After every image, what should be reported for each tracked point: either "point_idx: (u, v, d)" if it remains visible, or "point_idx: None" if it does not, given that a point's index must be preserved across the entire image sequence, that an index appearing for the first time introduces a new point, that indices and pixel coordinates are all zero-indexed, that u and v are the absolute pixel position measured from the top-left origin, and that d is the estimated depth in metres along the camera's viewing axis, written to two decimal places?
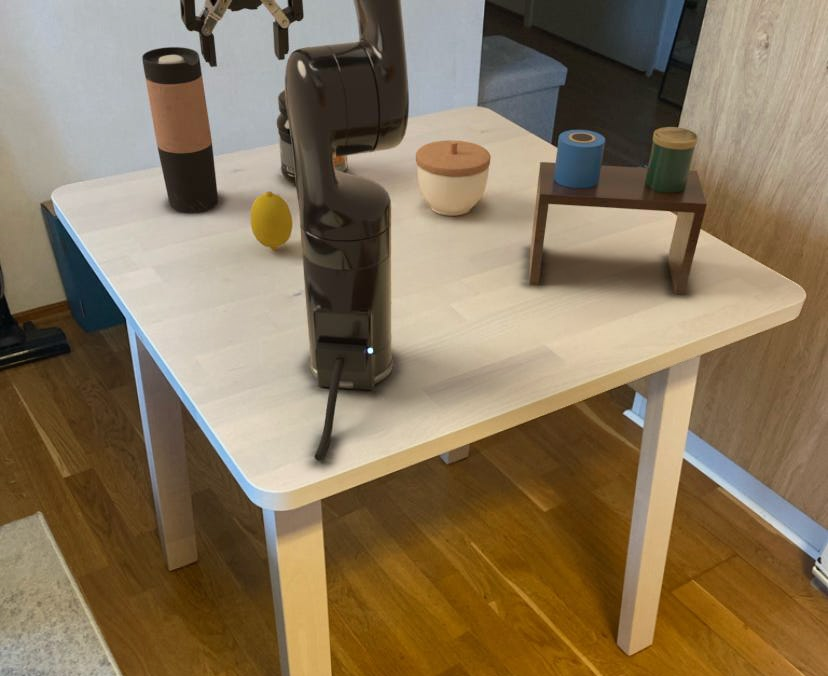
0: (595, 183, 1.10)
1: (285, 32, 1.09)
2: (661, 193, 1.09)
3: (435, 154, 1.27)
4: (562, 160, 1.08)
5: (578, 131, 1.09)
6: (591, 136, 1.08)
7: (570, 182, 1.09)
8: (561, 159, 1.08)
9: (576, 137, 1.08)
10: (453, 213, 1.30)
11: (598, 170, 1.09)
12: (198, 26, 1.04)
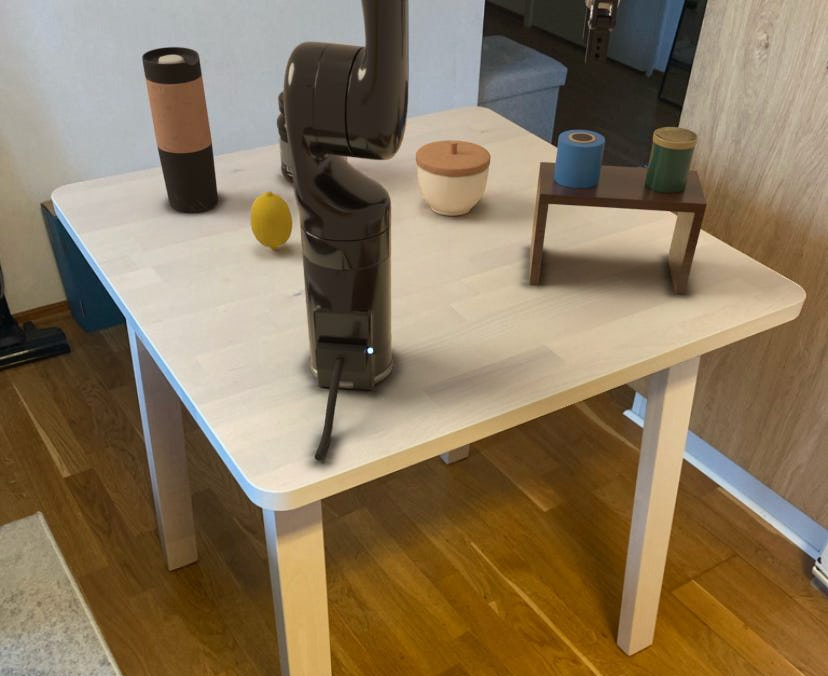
0: (595, 183, 1.10)
1: (592, 37, 0.96)
2: (661, 193, 1.09)
3: (435, 154, 1.27)
4: (562, 160, 1.08)
5: (578, 131, 1.09)
6: (591, 136, 1.08)
7: (570, 182, 1.09)
8: (561, 159, 1.08)
9: (576, 137, 1.08)
10: (453, 213, 1.30)
11: (598, 170, 1.09)
12: None
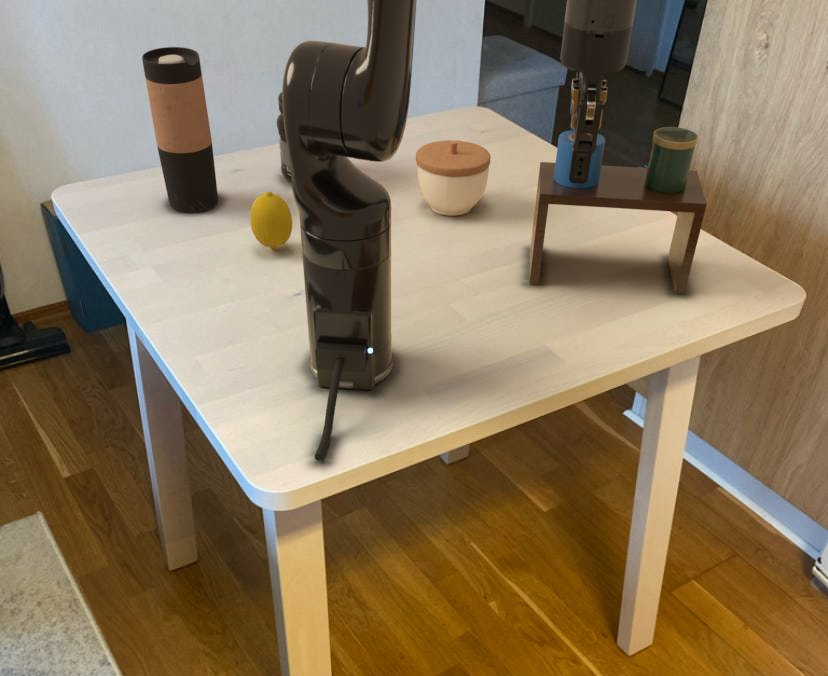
0: (595, 183, 1.10)
1: (575, 157, 1.06)
2: (661, 193, 1.09)
3: (435, 154, 1.27)
4: (562, 160, 1.08)
5: None
6: None
7: (570, 182, 1.09)
8: (561, 159, 1.08)
9: None
10: (453, 213, 1.30)
11: (598, 170, 1.09)
12: None
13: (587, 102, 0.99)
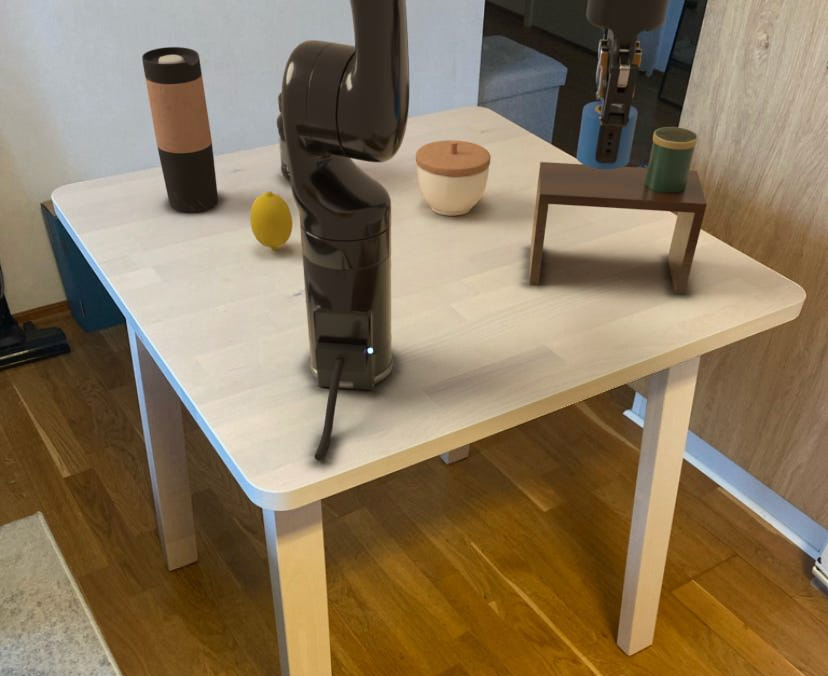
0: (625, 163, 0.94)
1: (603, 132, 0.90)
2: (661, 193, 1.09)
3: (435, 154, 1.27)
4: (587, 136, 0.93)
5: None
6: None
7: (596, 162, 0.94)
8: (586, 135, 0.93)
9: None
10: (453, 213, 1.30)
11: (629, 148, 0.94)
12: None
13: (619, 66, 0.83)
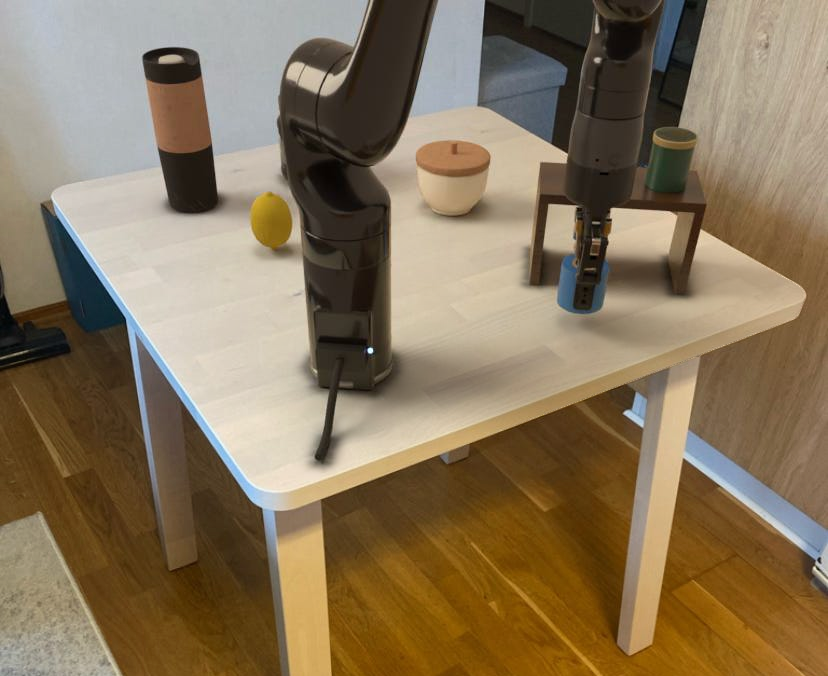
0: (599, 308, 1.07)
1: (579, 286, 1.03)
2: (661, 193, 1.09)
3: (435, 154, 1.27)
4: (566, 286, 1.05)
5: None
6: None
7: None
8: (564, 285, 1.05)
9: None
10: (453, 213, 1.30)
11: (603, 295, 1.06)
12: None
13: (592, 239, 0.96)
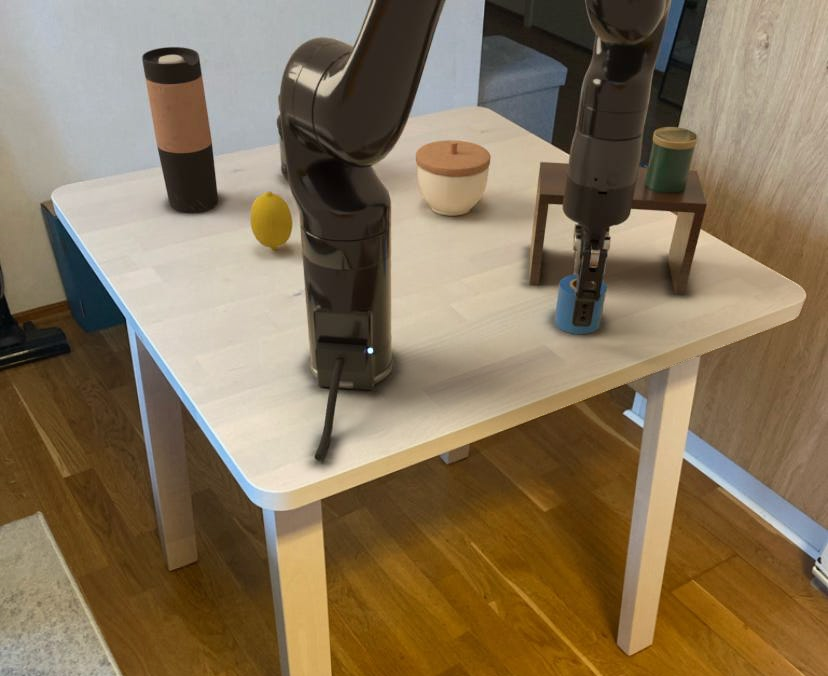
0: (596, 328, 1.08)
1: (578, 303, 1.02)
2: (661, 193, 1.09)
3: (435, 154, 1.27)
4: (563, 307, 1.07)
5: None
6: (592, 282, 1.07)
7: (571, 328, 1.08)
8: (562, 306, 1.07)
9: None
10: (453, 213, 1.30)
11: (599, 316, 1.08)
12: None
13: (591, 249, 0.96)
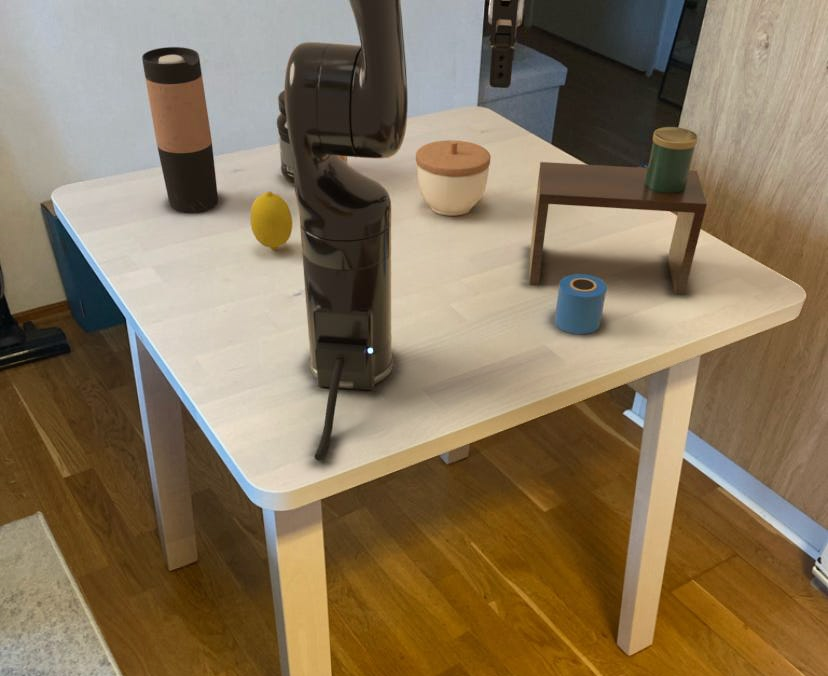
0: (596, 328, 1.08)
1: (495, 55, 0.91)
2: (661, 193, 1.09)
3: (435, 154, 1.27)
4: (563, 307, 1.07)
5: (579, 276, 1.08)
6: (592, 282, 1.07)
7: (571, 328, 1.08)
8: (562, 306, 1.07)
9: (577, 284, 1.06)
10: (453, 213, 1.30)
11: (599, 316, 1.08)
12: None
13: None
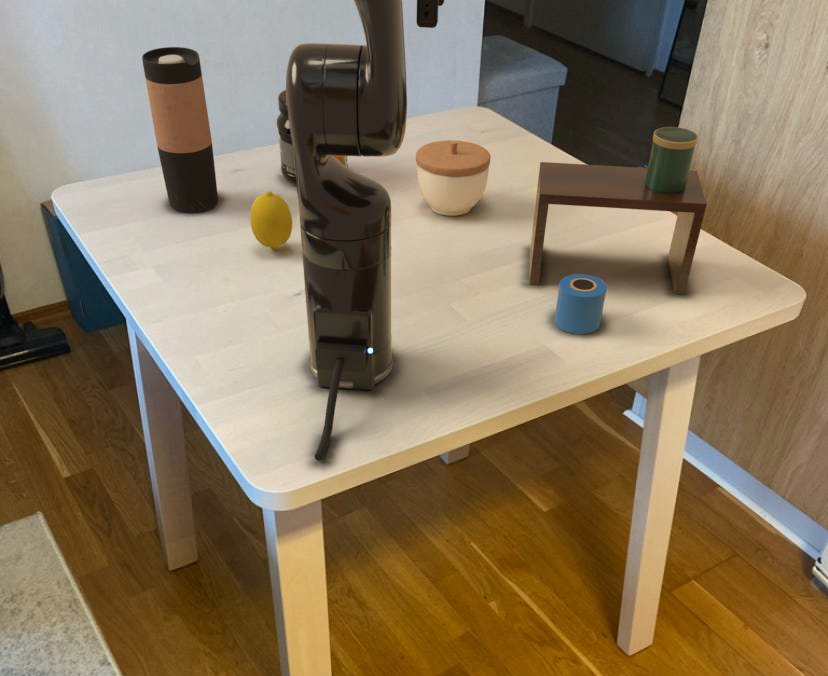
0: (596, 328, 1.08)
1: None
2: (661, 193, 1.09)
3: (435, 154, 1.27)
4: (563, 307, 1.07)
5: (579, 276, 1.08)
6: (592, 282, 1.07)
7: (571, 328, 1.08)
8: (562, 306, 1.07)
9: (577, 284, 1.06)
10: (453, 213, 1.30)
11: (599, 316, 1.08)
12: None
13: None
